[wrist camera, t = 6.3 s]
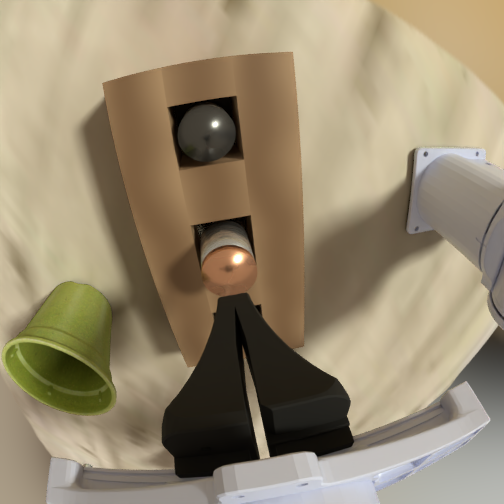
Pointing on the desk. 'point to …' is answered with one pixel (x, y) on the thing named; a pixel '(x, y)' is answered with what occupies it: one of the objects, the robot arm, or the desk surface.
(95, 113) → the desk surface
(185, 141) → the plug
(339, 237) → the desk surface
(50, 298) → the plant pot
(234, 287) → the plug mid
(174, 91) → the socket block
